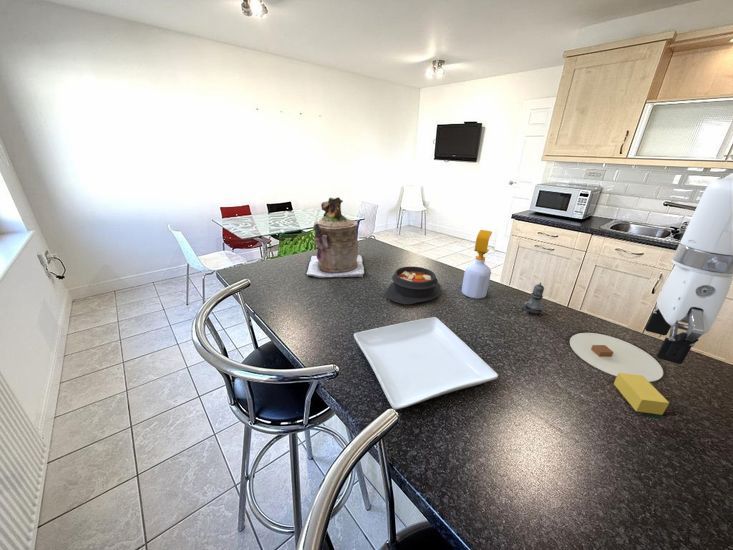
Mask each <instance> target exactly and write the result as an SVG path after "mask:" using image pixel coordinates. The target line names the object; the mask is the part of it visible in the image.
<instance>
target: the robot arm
mask: <svg viewBox="0 0 733 550" xmlns="http://www.w3.org/2000/svg"><path fill="white" fill-rule="evenodd" d="M670 262H671V263H672V264H673V267H672V269H671V271H670V273H669V275H668V277H667V278H666V279H665V282H664V284H663V285H662V287H661V290H660V292H659V294H658V296H657V298H656V299H657V300H656V305H655V306H654V307H653V312H652V313H651V314H650V317H649V319H648V320H647V323H646V325H645V327H644V329H645V331H646V332H648V333H653V334H657V335H661V336H667V335H668V337H665V338H664V339H663V342H662V343H661V345H660V347H659V348H658V351H657V353H656V357H657V358H658V359H659V360H662V361H666V362H670V363H674V364H677V365H681V364H683V363H684V361H685V359H686V358H687V356H688V354H689V352H690V351H691V349H692V348H693V347H694V346H695V344H696V343H698V342H699V340H700V338H701V337H702V336H704V334H707V333H709V332H710V330H711V329H712V327H713V325H714V323H715V321H716V320H717V318H718V316H719V313H720V311H721V310H722V307H723V305H724V303H725V301H726V299H727V296H728V294H729V291H730V288H731V285H732V282H733V172H732V173H729V174H728V175H727V176H725V177H723V178H718V179H715V180H713V181H711V182H710V183H708V185H707V186H706V187H705V189H704V191H703V192H702V195H701V197H700V199H699V202H698V203H697V206H696V208H695V210H694V212H693V214H692V216H691V218H690V220H689V223H688V225H687V226H686V228H685V231H684V232H683V235H682V237H681V239H680V241H679V244H678V245H677V247H676V249H675V252H674V254H673V256H672V258H671V260H670ZM679 329H680V330H682V332H680V333H678V331H679ZM668 333H669V334H668Z"/></svg>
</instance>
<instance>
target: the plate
mask: <svg viewBox="0 0 733 550" xmlns="http://www.w3.org/2000/svg"><path fill="white" fill-rule="evenodd" d="M569 345H570V348H571V349H572V351H573V352H574V353H575V354H576V355H577V356H578V357H579V358H580V359H581V360H583V361H585V362H586V363H588V364H589V365H591V366H593V368H596V369H598V370H600V371H602V372H604V373H607V374H608V375H612V376H614V377H617V375H618V373H626V374H634V375H643V376H644V377H645V378H646V379H647V380H648V381H649V383H651V382H656V381H658V380H661V378H662V377H664V370H663V367H662V366H661V364H660V363H659V362H658V360H656V359H655V357H653V356H652V355H650V354H649V353H647V352H646V351H645V350H643V349H641V348H639V347H638V346H636V345H634V344H632V343H630V342H627V341H625V340H623V339H621V338H617V337H614V336H610V335H606V334H601V333H596V332H579V333H575V334H574V335H572V336H571V337H570V339H569ZM593 345H606V346H607V347H608V348H609V349H610V350H612V351H613V355H612V357H599V356H598V355H597V354H595V353H594V352H593V351H592V350H591V348H592V346H593Z"/></svg>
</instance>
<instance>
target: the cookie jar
mask: <svg viewBox="0 0 733 550" xmlns="http://www.w3.org/2000/svg"><path fill="white" fill-rule="evenodd" d="M343 202H344V200H343V199H341V198H340V197H338V196H337V197H328V200H327V201H323V202H321V204H320V207H321V210H322V211H324V213H323V216H322V217H321V218H320V219H319V220H317V221H316V222H314V223H313V231H314V236H315V239H313V243H314V244H315V245H316V246H317V250H316V251H317V252H316V255H311V256H310V261H309V262H308V263H309V264H308V269H307V272H306V276H309V277H310V276H311V277H314V278H319V279H321V278H364V274H365V270H364V269H365V267H364V264H363V257H362V255H360V254H359V242H358V236H357V234H358V233H357V228H358V226H359V225H358V224H359V223H358V221H356V220H353V219H349V218H347V217H346V216H345V215H343V214H342V207H341V205H342V203H343Z"/></svg>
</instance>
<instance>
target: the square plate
mask: <svg viewBox="0 0 733 550" xmlns="http://www.w3.org/2000/svg"><path fill="white" fill-rule="evenodd" d="M353 338H354V341H355V342H356V343H357V345H358V347H359V348H360V350H361V352H362V353H363V355H364V357H365V358H366V360H367V362H368V363H369V365H370V367H371V369H372V371H373V373H374V374H375V377H376V379H377V381H378V382H379V385H380V387H381V389H382V391H383V393H384V395H385V397H386V400H387V402H388V403H389V405H390V406H391V409H393V410H401V409H404V408H407V407H410V406H414V405H416V404H419V403H422V402H426V401H427V400H430V399H434V398H437V397H439V396H442V395H445V394H449V393H452V392H455V391H459V390H463V389H466V388H470V387H475V386H477V385H481V384H482V385H483V384H485V383H488V382H491V381H494V380H496V379H498V377H499V374H498V372H496V370H494V369H493V368H492V367H490V365H489V364H488V363H486V362H485V361H484V359H482V358H481V357H480V356H479V355H478V354H477V353H476V352H475V351H474V350H473V349H472V348H470V346H469V345H467V344H466V343H465V342H464V341H463V340H462V339H461V338H460V337H459V336H458V335H457V334H455V333H454V332H453V331H452V330H451V329H450V328H449V327H448V326H447V325H446V324H445V323H443V321H442V320H440V319H439V318H438V317H435V316H432V317H427V318H426V317H425V318H421V319H416V320H415V319H414V320H410V321H405V322H400V323H395V324H391V325H390V324H389V325H386V326H381V327H377V328H370V329H367V330H366V329H365V330H362V331H358V332H355V333H353Z"/></svg>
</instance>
